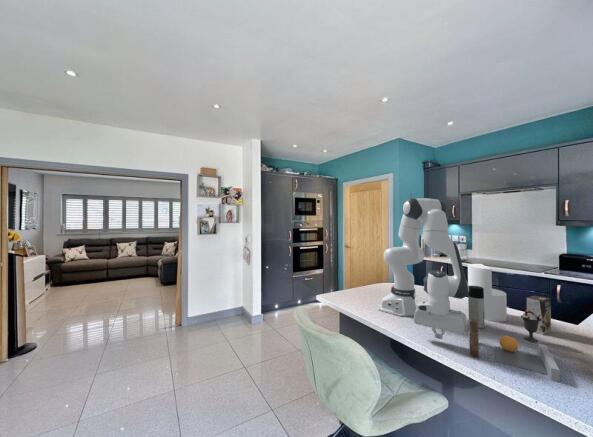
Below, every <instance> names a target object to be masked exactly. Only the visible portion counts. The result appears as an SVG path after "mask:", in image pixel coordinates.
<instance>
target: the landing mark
mask: <svg viewBox="0 0 593 437" xmlns="http://www.w3.org/2000/svg"><path fill="white" fill-rule="evenodd" d="M493 347H494V348H493V349H494V354H495V360H496V363H500V364H503V365H508V366H512V367H514V368H518V369H523V370H527V371H531V372H535V373H539V374H543V375H548V371H547V369H546V367H545V365H544V363H543V361H542V359H541V357H540V355H536V354H532V353H526V352H522V351H518V350H516V351H514V352H509V351H506V350H504V349H503V348H502V347H501V346H500V347H499V346H496V345H494V346H493Z"/></svg>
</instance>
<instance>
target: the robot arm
mask: <svg viewBox="0 0 593 437" xmlns="http://www.w3.org/2000/svg"><path fill="white" fill-rule="evenodd" d="M402 212H403V213H402V217H401V220H400V225H399V227H398V228H399V229H398V233H397V236H398V238H399V240H400V241H402V245H401V246H393V247H389V248H387V249H385V250H384V252H383V261H384V262H385V264H387V265H388V266H389V267H390V269H391V271H392V274H393V283H394V284H393V285H392V286H391V287H390V293H388V294H386V295H385V296H383V298H382V299H381V303H379V304H378V305H377V310H378V311H381V312H384V313H386V314H387V313H388V314H391V315H393V316H394V315H395V316H398V317H413V322H414V324H415V325H417V326H418V325H419V326H423V327H426V328H427V327H428V328H431V330H432V332H433V333H434V338H435V339H440V340H443V338H444V335H445V334H446V332H449V333H454V334H455V333H456V334H461V335H465V333H467V332H466V322H467V315H466V314H465V313H464V312H463V311H461V310H455V309H451V307H450V306H451V304H450V303H451V302H450V299H449V297H450V298H452V299H453V298H454V299H458V300H459V299H461V300H462V299H464V298H465V297H466V298H467V296H468V294H469V286H468V280H467V278H466V275H465V270H464V267H463V263H462V258H461V254H460V250H459V247H458V245H457V243H456V242H455V241H452V239H451V238H450V234H449V224H448V218H447V215H446V214H447V204H446V202H444V201H443V200H441V199H437V198H429V197H427V198H426V197H423V198H419V197H418V198H415V197H413V198H407V199H406V200H405V201H404V202H403V204H402ZM421 229H422V237H423V242H424V244H425V245H426V246H427V247H428V248H430V249H432V250H435V251H438V252H440V253H443V254H445V255H447V257H449V259H450V261H451V266H452V271H453V274H454V275H448V274H447V273H446V272H445V271H443V270H436V269H435V270H431V271H429V272H428V274H427V275H426V276H425V277H424V278H423V291H424V292H425V293H426V294H427V298H426V299H427V300H423V301H419V302H418V303H417V304H416V289H415V276H414V274H413V273H412V272H410V271H409V270H408V265H409V266H411V265H417V264H419V263H422V262H423V261H424V259H425V253H424V250H423V249H422V248H421V247H420V244H419V239H420V238H419V237H420V233H421ZM437 329H438V330H441V333H438V332H437V331H436V330H437Z"/></svg>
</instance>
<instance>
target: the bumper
mask: <svg viewBox="0 0 593 437" xmlns="http://www.w3.org/2000/svg"><path fill="white" fill-rule="evenodd" d="M538 354H539V355H538V356H539V358H540V360H541V362H542V364H543V366H544V368H545V370H546V372H547V375H549V377H550V379H551V380H552V381H555V382H559V383H560V382H561V379H560V378H561V373H560V372H561V370H560V369H559V366H558V364H557V362H556V361H555V359H554V357H553V356H552V354H551V352H550V351H549V349H548V347H547V345H546V344H541V343H538Z"/></svg>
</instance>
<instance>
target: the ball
mask: <svg viewBox="0 0 593 437" xmlns="http://www.w3.org/2000/svg"><path fill="white" fill-rule="evenodd" d="M498 343H499V345H500V347H501V348H503V349H504V350H506V351H509V352H514V351H518V348H519V344H518V341H517V340H516V339H515V338H513V337H512V336H509V335H503V336H502V335H501V337H500V338H499V342H498Z"/></svg>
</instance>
